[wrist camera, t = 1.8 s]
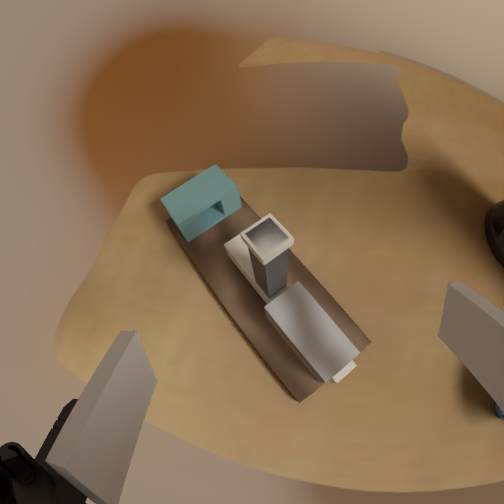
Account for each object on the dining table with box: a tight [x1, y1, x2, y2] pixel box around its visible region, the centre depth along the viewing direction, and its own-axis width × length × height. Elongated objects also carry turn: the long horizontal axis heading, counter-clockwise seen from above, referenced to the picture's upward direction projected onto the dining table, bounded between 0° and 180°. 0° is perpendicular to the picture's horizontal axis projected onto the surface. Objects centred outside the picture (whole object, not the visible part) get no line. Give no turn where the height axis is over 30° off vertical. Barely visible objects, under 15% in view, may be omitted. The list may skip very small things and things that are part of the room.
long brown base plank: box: [166, 197, 371, 403], centre depth 37 cm, size 12×34×6 cm, turn 36°
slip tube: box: [224, 213, 357, 383], centre depth 28 cm, size 3×22×14 cm, turn 36°
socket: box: [160, 164, 242, 242], centre depth 42 cm, size 10×6×5 cm, turn 126°
